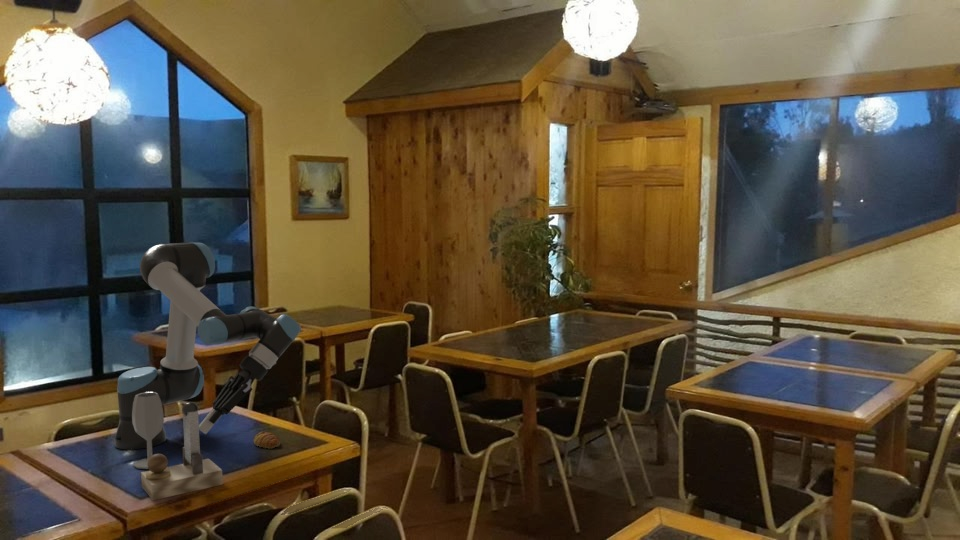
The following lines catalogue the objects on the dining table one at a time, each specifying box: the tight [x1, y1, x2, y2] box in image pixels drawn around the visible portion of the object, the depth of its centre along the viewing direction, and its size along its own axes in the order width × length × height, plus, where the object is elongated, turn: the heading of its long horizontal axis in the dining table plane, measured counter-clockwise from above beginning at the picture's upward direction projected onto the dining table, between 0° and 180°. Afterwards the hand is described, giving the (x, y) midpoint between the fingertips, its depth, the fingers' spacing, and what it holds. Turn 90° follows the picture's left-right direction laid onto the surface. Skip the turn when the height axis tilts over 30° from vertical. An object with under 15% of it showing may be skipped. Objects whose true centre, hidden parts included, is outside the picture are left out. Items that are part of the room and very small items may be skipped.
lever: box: [181, 401, 201, 466], centre depth 208 cm, size 4×7×18 cm, turn 36°
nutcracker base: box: [140, 446, 224, 501], centre depth 207 cm, size 18×12×10 cm, turn 126°
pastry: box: [253, 431, 281, 449], centre depth 241 cm, size 9×7×4 cm
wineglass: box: [132, 392, 165, 470], centre depth 224 cm, size 9×9×21 cm
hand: (201, 431), depth 209 cm, fingers closed
